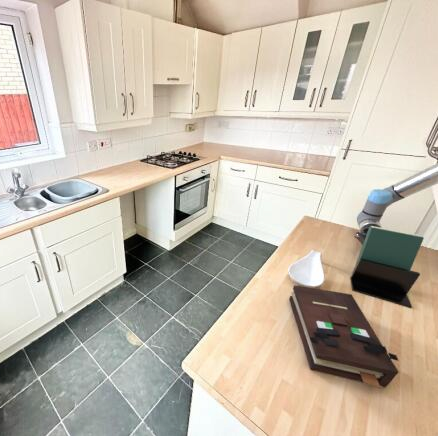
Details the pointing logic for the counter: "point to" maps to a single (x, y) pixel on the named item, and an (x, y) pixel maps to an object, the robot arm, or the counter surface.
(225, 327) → the counter surface
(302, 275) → the spoon rest
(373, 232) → the book
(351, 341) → the decorative book
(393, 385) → the counter surface
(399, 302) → the bookend
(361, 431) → the counter surface
